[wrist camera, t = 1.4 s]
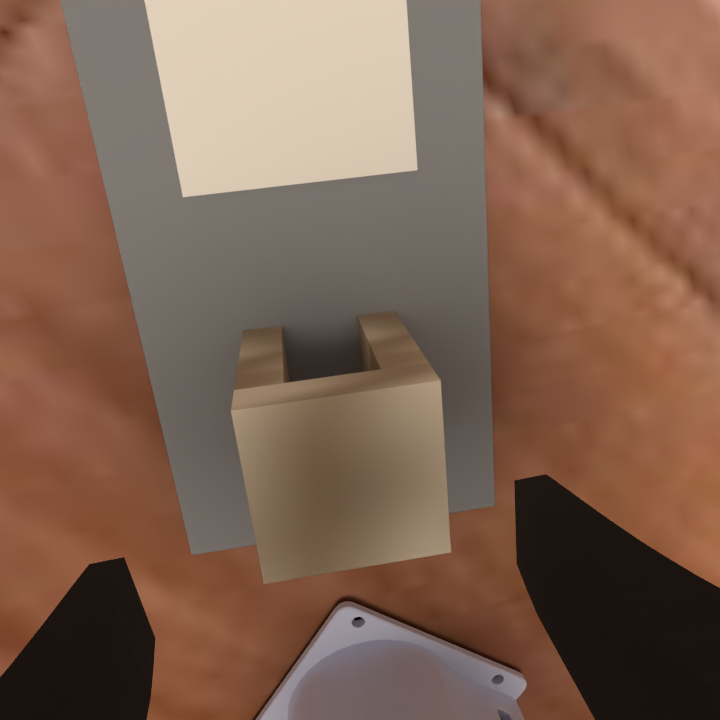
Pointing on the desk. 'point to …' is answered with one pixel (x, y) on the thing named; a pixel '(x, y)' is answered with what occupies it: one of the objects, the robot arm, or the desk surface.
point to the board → (292, 208)
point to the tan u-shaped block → (342, 455)
